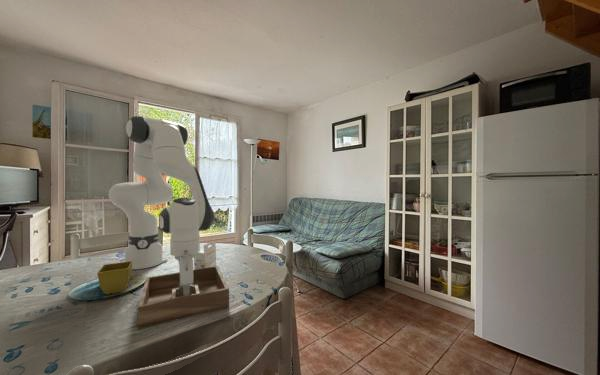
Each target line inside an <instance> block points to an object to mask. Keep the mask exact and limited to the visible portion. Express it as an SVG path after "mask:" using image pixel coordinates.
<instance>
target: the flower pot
mask: <svg viewBox="0 0 600 375" xmlns="http://www.w3.org/2000/svg"><path fill="white" fill-rule="evenodd" d="M132 270H133V269H132V261H128V262H124V261H122V262H115V263H106V264H103V265H102V266H101V268H100V269H99V270H98V271H97V278H98V279H97V280H98V284H99V287H100V289H101V291H102V292H103V293H104V294H105V295H112V294H116V293H117V292H118V293H123V292H125V290H126V288H127V286H128V285H129V281H130V279H131V277H132ZM111 293H112V294H111ZM118 293H117V294H118Z"/></svg>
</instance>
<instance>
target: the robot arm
mask: <svg viewBox="0 0 600 375" xmlns="http://www.w3.org/2000/svg"><path fill="white" fill-rule="evenodd" d="M125 131H126V134H127V137H128V139H129V140H130V141H131V142H133V143H136V144H135V147H134V153H133V160H132V170H133V172H135V174H137V175H138V176H140V177H142V178H144V180H145V181H141V182H140V181H136V182H134V181H133V182H132V181H127V182H120V183H116V184H114V185H112V186H111V187H110V189H109V191H108V198H109V200H110V203H111V204H113V205H114V206H115V207H118V208H119V210H121V211H122V212H124V214H125V215H126V217H127V220H128V227H129V228H128V229H129V235H128V240H127V241H128V246H127V247H126V248H124V260H123V262H128V261H132V270H141V269H148V268H152V267H155V266H157V265H158V266H159V265H160V264H162V263H165V262H166V263H167V262H168V258H167V257H166V255H165V254H164V251H163V244H162V243H160V241H159V240H160V234H159V232H158V228H159V230H160V231H161V232H163V233H165V234H167V235H168V234H169V235H170V234H171V235H170V238H169V240H170V242H169V244H170V245H169V246H170V248H169V249H170V252H169V254H170V256H174V260H177V261H178V269H179V270H178V272H179V274H180V286H183V295H189V293H190V285H192V284H193V270H194V257H195V256H196V253H198V252H199V251H200V249H201V248H200V247H201V246H200V242H201V240H200V239H201V237H200V233H199V232H202V231H205V232H206V231H208V229H210V228H211V226H212V225H213V224H214V222H215V214H214V211H213V208H212V206H211V204H210V202H209V199H208V196H207V194H206V190H205V188H204V184H203V181H202V178H201V175H200V173H199V171H198V168H197V167H196V166H194V165H193V164H192V163H191V162H190V160H189V159H188V156H187V153H186V149H185V145H186V144H187V143H188V138H189V134H188V130H187V128H186V126H185V125H183V124H181V123H178V122H173V121H169V120H166V119H162V118H161V119H159V118H154V117H144V116H142V115H141V116H140V115H139V116H138V115H134V116H132V117H129V119H128V121H127V123H126V126H125ZM163 175H164V176H167V177H169V178H174V179H175V180H179V181H180V182H181V181H182V182H183V183H185V184H186V185H187V186H188V187H189V189H190V193H191V195H192V198H189V197H179V198H175V199H173V196H174V190H173V187H172V186H171V185H170V184H169V183H168V182H167V181H166V180H165V179H164V176H163ZM172 199H173V200H172ZM170 202H171V205H170V206H168V207H165V208H163V209H162V210H161V211H160V212H159V213H158V218H157V216H156V215H155V214H153V213H151V212H148V211H145V208H144V206H153V205H162V204H166V203H170Z"/></svg>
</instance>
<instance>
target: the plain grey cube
mask: <svg viewBox="0 0 600 375" xmlns="http://www.w3.org/2000/svg"><path fill="white" fill-rule="evenodd" d="M191 294H193V285H190V293H189V295H191ZM181 296H186V295H183V286H180V283H179V297H181Z"/></svg>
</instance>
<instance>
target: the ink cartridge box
mask: <svg viewBox="0 0 600 375" xmlns="http://www.w3.org/2000/svg"><path fill="white" fill-rule="evenodd" d="M215 266H217V246H216V240H212V241H210V242H208V243H205V244H204V245H203V247H202V248H200V251H199V252H198V253H196V256H195V257H194V258H193V270H196V269H202V268H209V267H215Z"/></svg>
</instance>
